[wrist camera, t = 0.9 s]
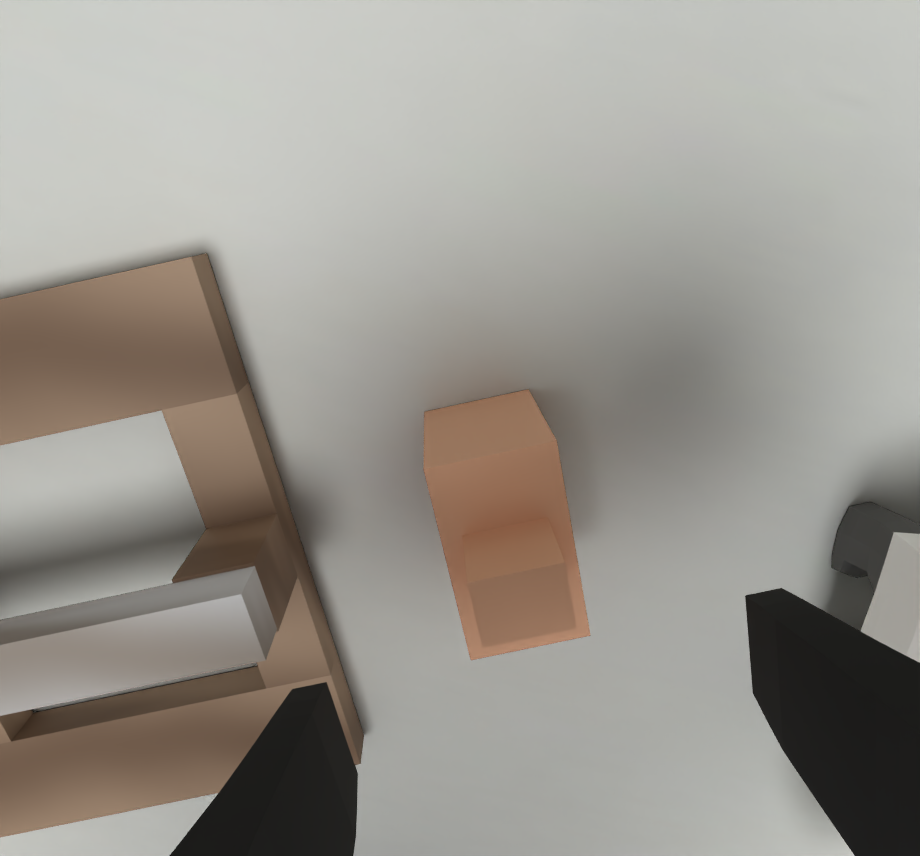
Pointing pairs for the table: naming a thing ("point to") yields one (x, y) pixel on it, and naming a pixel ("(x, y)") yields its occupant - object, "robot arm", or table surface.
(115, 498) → the table surface
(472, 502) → the block
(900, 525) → the giant panda
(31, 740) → the brown wooden frame
